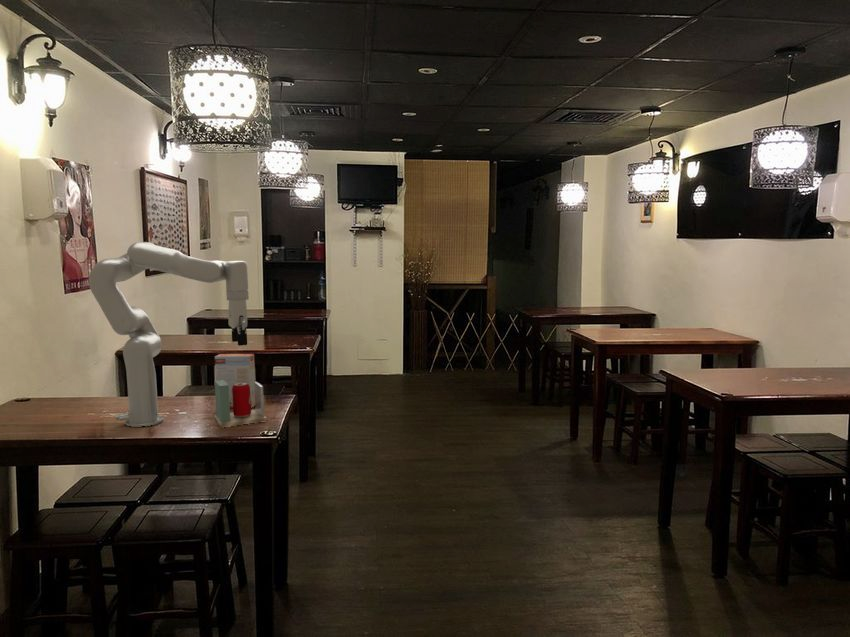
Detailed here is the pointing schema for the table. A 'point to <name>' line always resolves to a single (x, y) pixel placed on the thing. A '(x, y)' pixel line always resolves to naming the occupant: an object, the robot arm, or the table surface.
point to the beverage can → (241, 399)
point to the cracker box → (236, 372)
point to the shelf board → (241, 419)
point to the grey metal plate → (259, 399)
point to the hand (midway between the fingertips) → (239, 343)
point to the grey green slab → (222, 400)
